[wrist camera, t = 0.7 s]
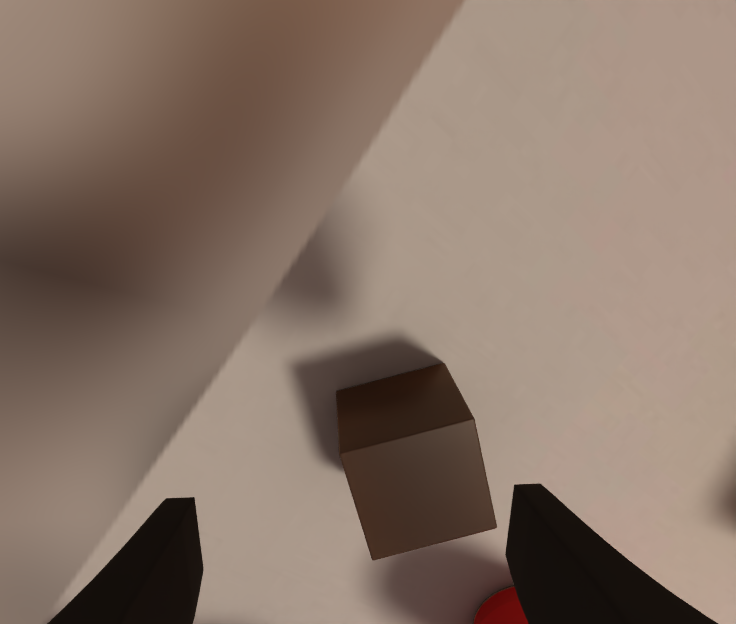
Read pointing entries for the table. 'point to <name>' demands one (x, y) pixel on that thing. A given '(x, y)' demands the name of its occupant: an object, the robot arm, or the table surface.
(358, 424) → the walnut block
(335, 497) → the table surface
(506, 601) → the beverage can
